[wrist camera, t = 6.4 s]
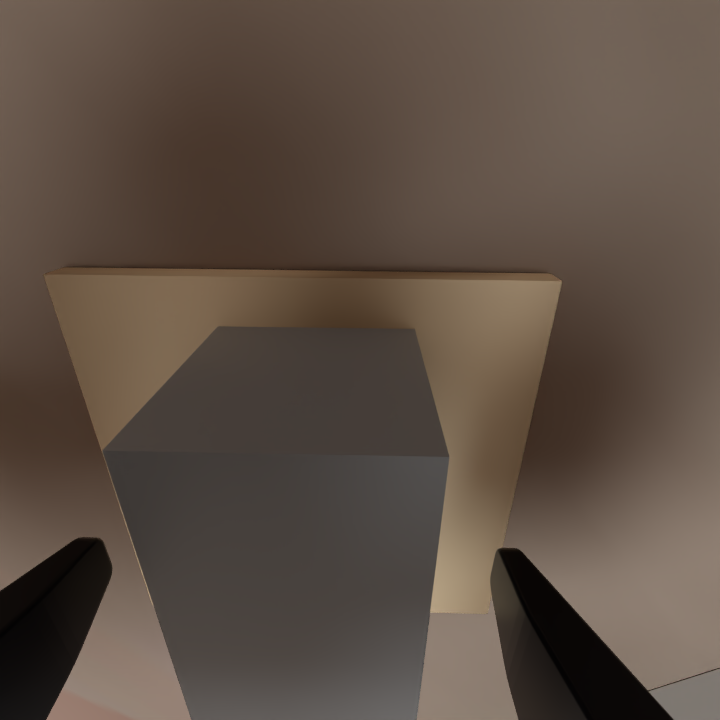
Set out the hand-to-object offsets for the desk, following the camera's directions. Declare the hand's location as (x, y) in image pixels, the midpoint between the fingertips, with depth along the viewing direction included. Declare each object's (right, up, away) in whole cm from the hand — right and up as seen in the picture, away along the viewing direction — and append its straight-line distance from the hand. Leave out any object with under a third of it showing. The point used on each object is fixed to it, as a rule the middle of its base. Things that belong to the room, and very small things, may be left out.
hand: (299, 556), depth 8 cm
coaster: (0, +1, +2) cm, 3 cm away
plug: (-2, -1, 0) cm, 2 cm away
